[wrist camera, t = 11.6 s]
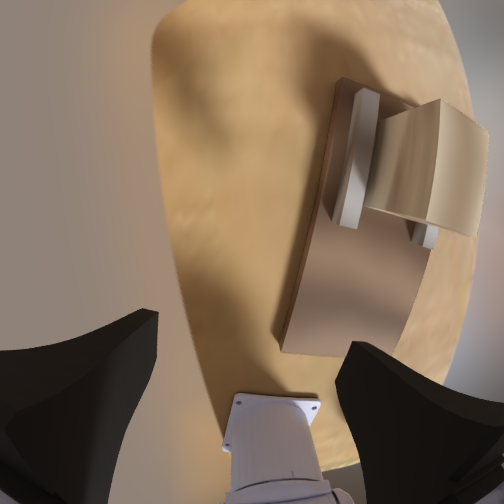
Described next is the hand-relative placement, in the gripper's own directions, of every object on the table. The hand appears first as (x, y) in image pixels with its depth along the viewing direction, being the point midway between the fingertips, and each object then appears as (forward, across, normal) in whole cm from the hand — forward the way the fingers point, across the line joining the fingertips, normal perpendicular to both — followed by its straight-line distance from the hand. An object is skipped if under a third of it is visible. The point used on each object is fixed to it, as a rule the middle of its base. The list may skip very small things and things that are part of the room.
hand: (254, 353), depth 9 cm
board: (+10, -8, -4) cm, 14 cm away
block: (+9, -8, -9) cm, 15 cm away
